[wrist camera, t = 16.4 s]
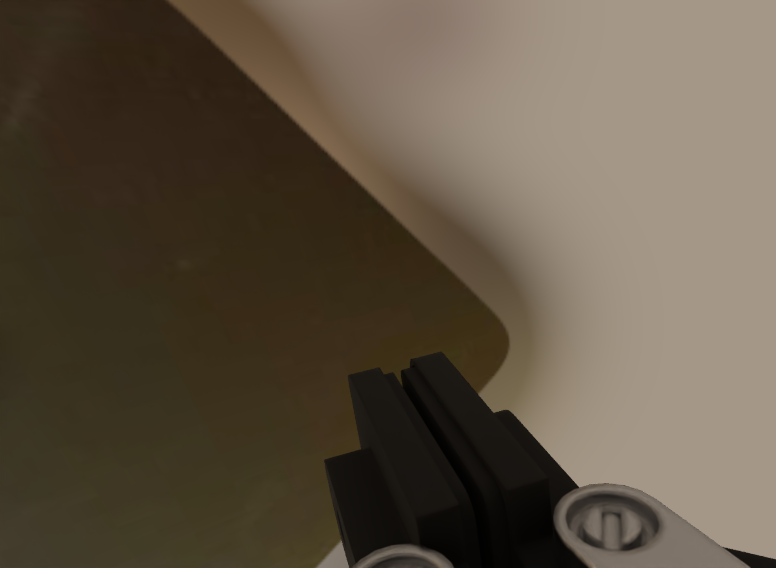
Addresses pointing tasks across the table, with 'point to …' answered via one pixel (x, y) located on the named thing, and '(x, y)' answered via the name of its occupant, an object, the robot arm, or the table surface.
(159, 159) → the table surface
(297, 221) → the table surface
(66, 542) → the table surface
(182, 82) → the table surface
